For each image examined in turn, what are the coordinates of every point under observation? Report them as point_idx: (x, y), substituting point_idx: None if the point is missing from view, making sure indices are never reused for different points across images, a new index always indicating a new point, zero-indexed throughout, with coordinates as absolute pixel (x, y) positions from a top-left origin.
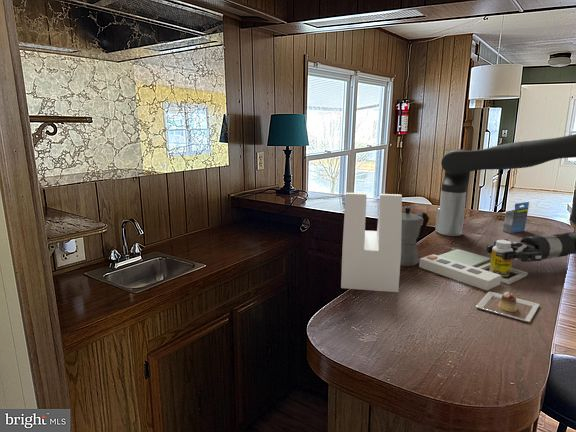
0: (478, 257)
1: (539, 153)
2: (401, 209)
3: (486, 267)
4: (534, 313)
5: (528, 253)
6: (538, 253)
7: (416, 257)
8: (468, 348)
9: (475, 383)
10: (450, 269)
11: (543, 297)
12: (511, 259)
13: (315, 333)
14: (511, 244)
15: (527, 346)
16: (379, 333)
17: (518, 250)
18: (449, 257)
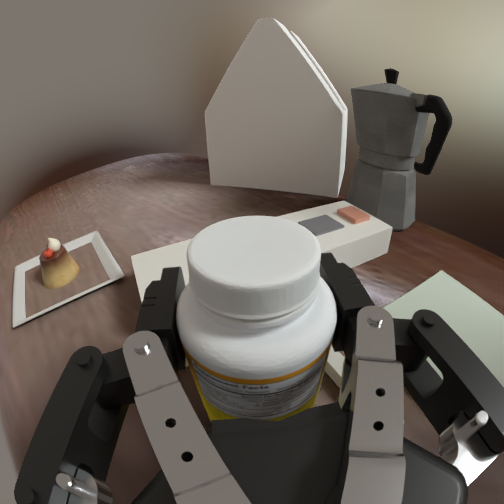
0: None
1: None
2: (244, 42)
3: (337, 378)
4: (13, 289)
5: (61, 381)
6: (24, 463)
7: (367, 207)
8: (57, 206)
9: (36, 200)
10: None
11: (23, 385)
12: (195, 379)
13: (158, 154)
14: (350, 409)
15: (11, 242)
16: (129, 171)
17: (153, 366)
18: (438, 293)
